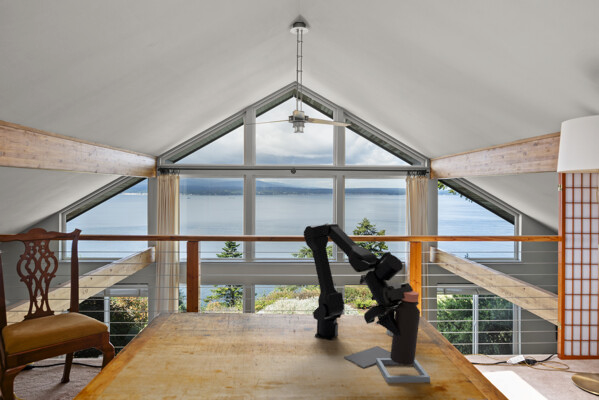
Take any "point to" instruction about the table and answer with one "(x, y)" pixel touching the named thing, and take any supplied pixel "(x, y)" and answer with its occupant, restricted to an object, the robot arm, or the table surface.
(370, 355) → the mat
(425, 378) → the bottle holder
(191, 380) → the table surface
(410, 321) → the vinegar
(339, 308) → the robot arm
